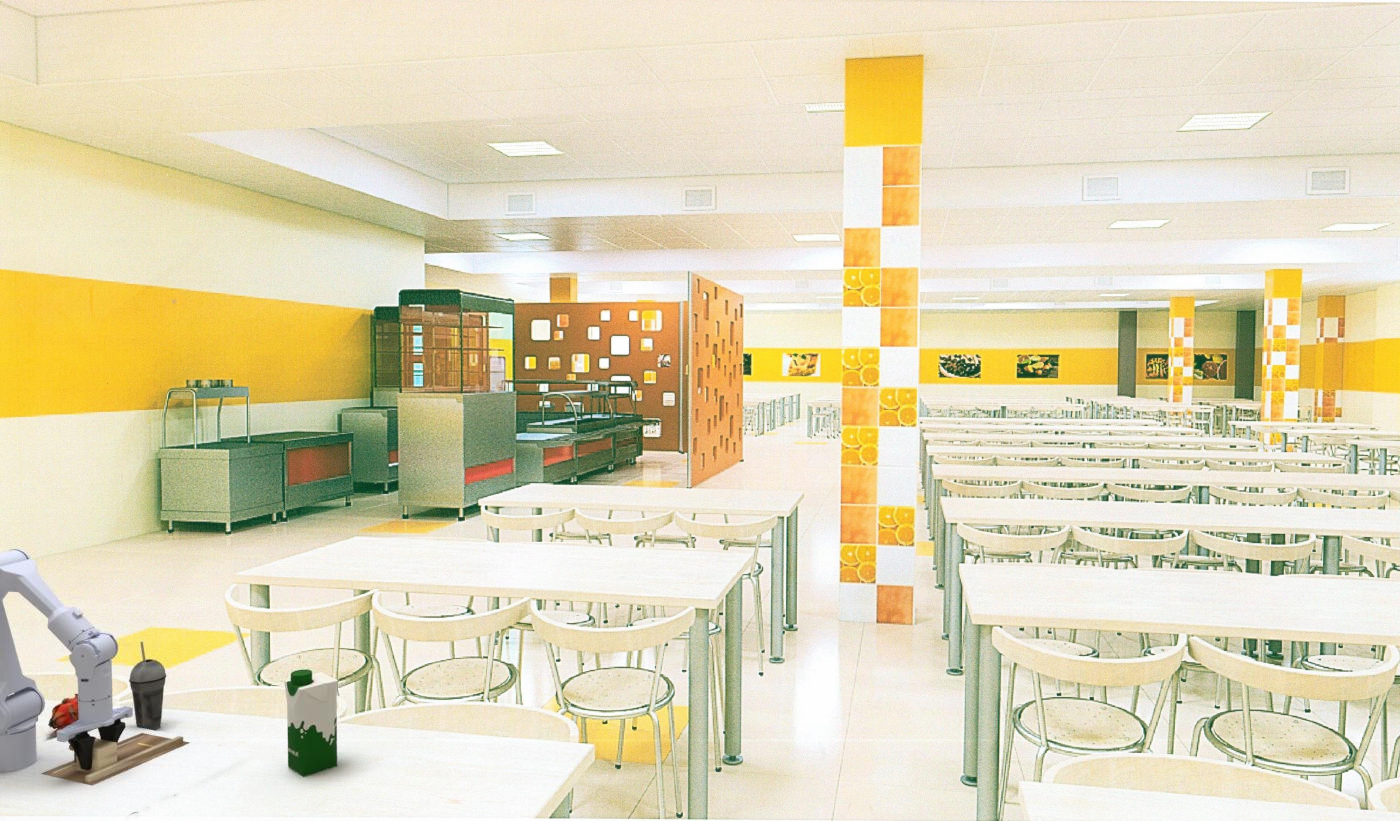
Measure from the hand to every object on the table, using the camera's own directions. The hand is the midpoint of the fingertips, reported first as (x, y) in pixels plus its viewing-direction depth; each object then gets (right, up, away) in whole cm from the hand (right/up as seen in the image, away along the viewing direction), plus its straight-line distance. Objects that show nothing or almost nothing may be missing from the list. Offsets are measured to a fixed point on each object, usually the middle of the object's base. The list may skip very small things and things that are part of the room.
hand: (97, 764), depth 191 cm
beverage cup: (-4, -1, +24) cm, 25 cm away
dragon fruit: (-19, -1, +23) cm, 30 cm away
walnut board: (+1, -2, +6) cm, 6 cm away
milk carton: (+41, -3, +6) cm, 41 cm away
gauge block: (-2, -1, +1) cm, 2 cm away
